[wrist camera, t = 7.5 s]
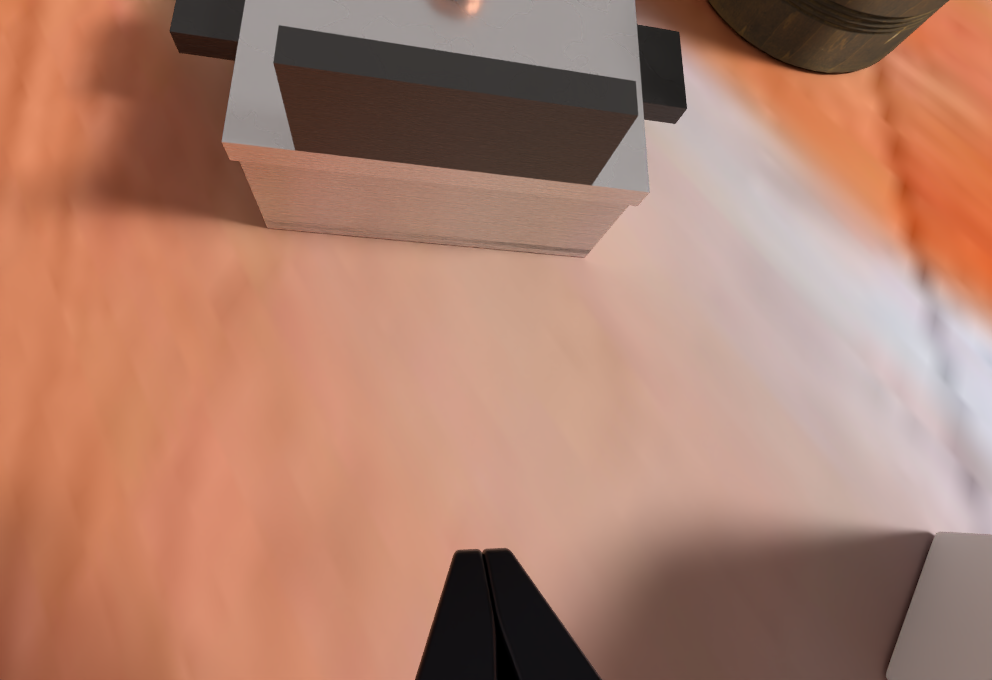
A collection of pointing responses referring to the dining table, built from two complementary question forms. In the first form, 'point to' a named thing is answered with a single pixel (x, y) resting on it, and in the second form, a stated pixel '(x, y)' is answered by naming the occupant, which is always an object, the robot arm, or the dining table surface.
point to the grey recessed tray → (421, 205)
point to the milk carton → (949, 614)
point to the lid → (446, 93)
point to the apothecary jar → (826, 29)
